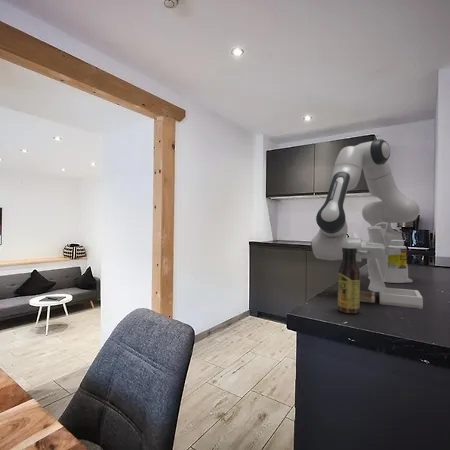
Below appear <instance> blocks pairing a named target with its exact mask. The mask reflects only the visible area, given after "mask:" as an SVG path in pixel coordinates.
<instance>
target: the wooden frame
mask: <svg viewBox="0 0 450 450" xmlns="http://www.w3.org/2000/svg"><path fill="white" fill-rule="evenodd" d="M360 302H364V303H372V304H373V303H374V304H376V292H373V291H365V290H360Z"/></svg>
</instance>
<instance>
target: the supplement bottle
mask: <svg viewBox="0 0 450 450" xmlns="http://www.w3.org/2000/svg"><path fill="white" fill-rule="evenodd" d="M388 249H400V250H401V254H400V255H388V268H389V269H391V270H399V271H403V270H406V264H407V249H408V248H407V246H405V240H391V245H390V246H388Z"/></svg>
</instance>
